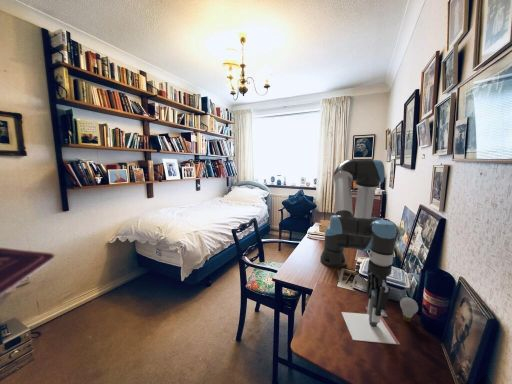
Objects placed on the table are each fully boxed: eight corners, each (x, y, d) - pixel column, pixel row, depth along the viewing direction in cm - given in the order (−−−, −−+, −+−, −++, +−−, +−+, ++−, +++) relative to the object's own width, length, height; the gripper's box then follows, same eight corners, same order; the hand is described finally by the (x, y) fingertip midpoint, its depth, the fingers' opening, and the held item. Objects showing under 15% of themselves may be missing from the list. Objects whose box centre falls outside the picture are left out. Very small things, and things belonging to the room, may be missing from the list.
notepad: (341, 312, 91) (341, 311, 91) (380, 315, 89) (380, 315, 89) (352, 340, 77) (353, 339, 77) (399, 344, 76) (400, 343, 76)
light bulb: (398, 313, 91) (401, 292, 89) (416, 320, 87) (419, 298, 85) (397, 321, 86) (400, 299, 85) (415, 329, 83) (418, 306, 81)
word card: (365, 307, 94) (365, 306, 94) (381, 308, 94) (382, 307, 94) (370, 315, 89) (370, 314, 89) (387, 317, 89) (387, 316, 89)
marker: (367, 320, 86) (370, 288, 84) (375, 321, 86) (379, 289, 83) (370, 327, 83) (373, 294, 81) (379, 328, 82) (383, 295, 80)
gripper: (361, 251, 88) (355, 303, 92) (380, 272, 72) (372, 333, 76) (380, 252, 88) (374, 304, 91) (403, 274, 72) (394, 335, 76)
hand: (373, 317), depth 84 cm, fingers closed on marker, 3 cm apart
